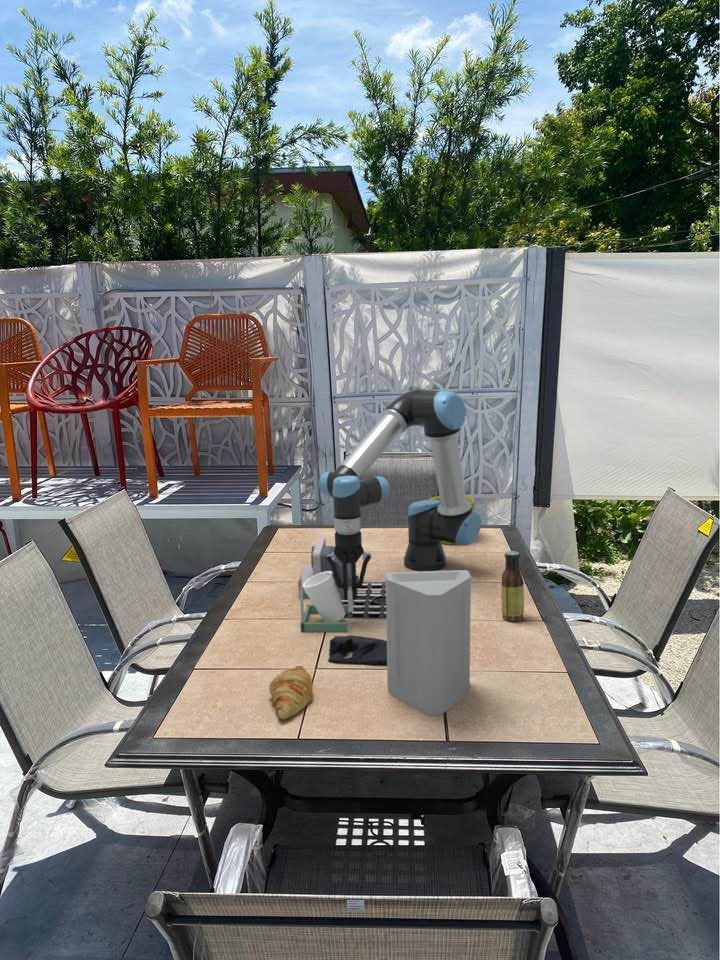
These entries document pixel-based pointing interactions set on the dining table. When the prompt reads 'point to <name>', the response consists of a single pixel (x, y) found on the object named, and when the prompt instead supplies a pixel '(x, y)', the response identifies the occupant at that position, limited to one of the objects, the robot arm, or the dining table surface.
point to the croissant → (291, 691)
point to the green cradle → (311, 609)
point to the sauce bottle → (512, 589)
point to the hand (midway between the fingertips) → (350, 609)
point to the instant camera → (324, 565)
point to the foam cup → (325, 596)
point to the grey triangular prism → (428, 638)
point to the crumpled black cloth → (358, 650)
